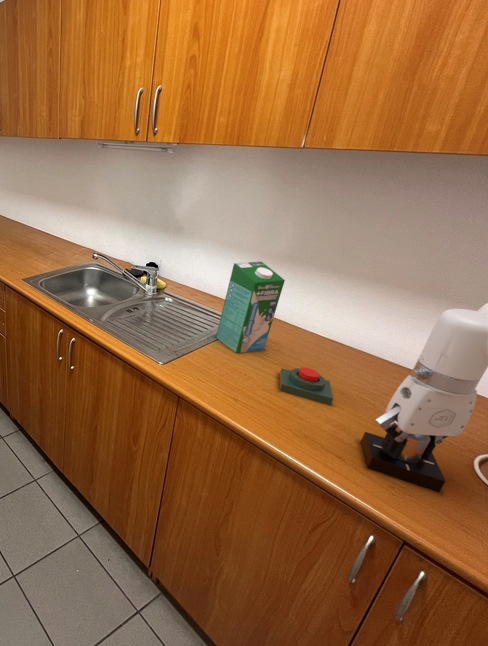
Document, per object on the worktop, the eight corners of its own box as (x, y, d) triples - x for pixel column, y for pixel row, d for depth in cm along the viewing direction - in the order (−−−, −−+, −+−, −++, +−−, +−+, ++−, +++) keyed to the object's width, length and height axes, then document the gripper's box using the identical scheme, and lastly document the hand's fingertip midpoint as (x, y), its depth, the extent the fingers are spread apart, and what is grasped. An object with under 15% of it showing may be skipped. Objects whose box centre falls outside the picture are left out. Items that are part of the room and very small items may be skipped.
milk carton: (236, 353, 115) (258, 274, 106) (215, 337, 123) (233, 262, 114) (264, 350, 116) (287, 272, 107) (241, 334, 125) (261, 260, 115)
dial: (405, 446, 79) (416, 424, 77) (425, 464, 75) (438, 441, 73) (381, 445, 79) (392, 422, 77) (400, 462, 75) (412, 439, 73)
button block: (326, 387, 101) (331, 374, 99) (330, 405, 94) (335, 392, 93) (279, 374, 106) (283, 362, 104) (279, 391, 100) (284, 378, 98)
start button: (317, 376, 99) (319, 370, 98) (318, 384, 96) (320, 378, 95) (297, 371, 101) (299, 365, 101) (298, 379, 98) (300, 373, 97)
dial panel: (425, 462, 79) (432, 450, 78) (439, 494, 72) (446, 482, 71) (359, 441, 84) (365, 430, 83) (367, 469, 78) (373, 457, 76)
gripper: (410, 388, 67) (372, 466, 74) (521, 392, 66) (470, 472, 73) (375, 362, 74) (342, 436, 81) (474, 366, 73) (432, 441, 80)
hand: (403, 452), depth 77 cm, fingers closed on dial, 4 cm apart
